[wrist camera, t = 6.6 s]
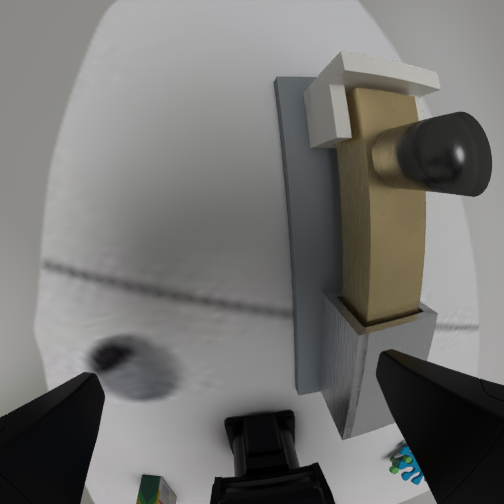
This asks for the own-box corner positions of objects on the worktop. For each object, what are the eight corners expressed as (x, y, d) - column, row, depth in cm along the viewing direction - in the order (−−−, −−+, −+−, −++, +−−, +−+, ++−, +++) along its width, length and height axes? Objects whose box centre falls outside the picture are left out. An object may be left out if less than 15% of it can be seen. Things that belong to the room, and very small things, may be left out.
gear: (457, 413, 25) (459, 469, 20) (440, 412, 30) (442, 463, 25) (391, 439, 26) (393, 497, 21) (379, 434, 31) (382, 486, 26)
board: (386, 365, 22) (391, 371, 21) (295, 388, 22) (298, 395, 21) (388, 90, 16) (394, 86, 15) (274, 81, 16) (276, 76, 15)
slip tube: (386, 315, 18) (460, 385, 9) (341, 325, 17) (405, 411, 9) (382, 109, 14) (480, 74, 6) (331, 105, 14) (418, 49, 6)
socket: (387, 149, 16) (449, 140, 10) (310, 148, 16) (354, 130, 10) (380, 98, 16) (436, 72, 9) (303, 93, 15) (340, 51, 9)
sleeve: (375, 372, 21) (407, 417, 15) (319, 387, 21) (342, 440, 15) (387, 279, 19) (437, 313, 13) (321, 290, 18) (358, 335, 12)
